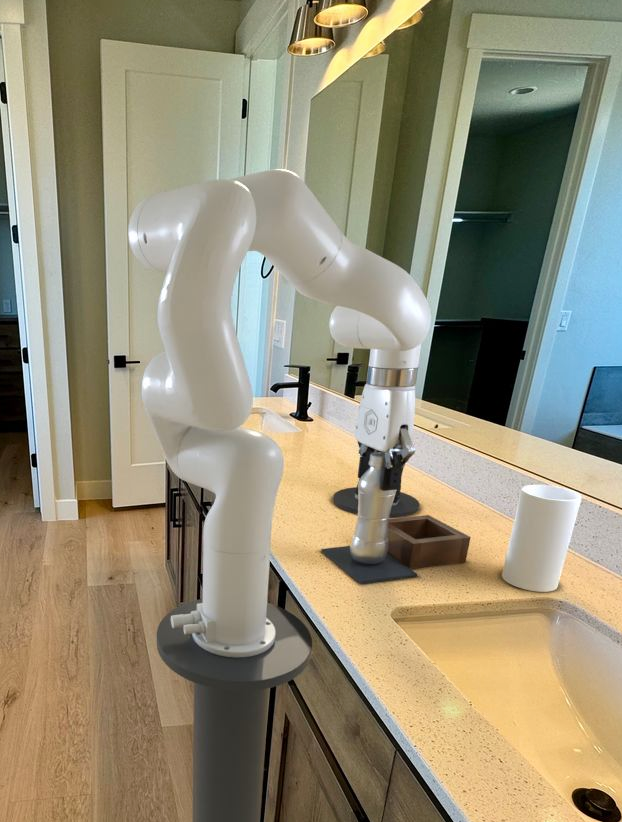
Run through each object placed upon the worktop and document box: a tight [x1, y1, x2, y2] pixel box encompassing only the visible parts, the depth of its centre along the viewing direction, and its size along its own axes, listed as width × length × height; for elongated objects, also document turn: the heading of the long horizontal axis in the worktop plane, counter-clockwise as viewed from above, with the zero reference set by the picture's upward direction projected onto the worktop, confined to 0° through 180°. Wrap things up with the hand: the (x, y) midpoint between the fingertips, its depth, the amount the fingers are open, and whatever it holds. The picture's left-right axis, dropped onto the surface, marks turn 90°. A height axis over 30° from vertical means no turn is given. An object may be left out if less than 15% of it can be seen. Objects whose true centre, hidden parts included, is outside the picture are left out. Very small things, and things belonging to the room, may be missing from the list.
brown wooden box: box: [387, 514, 472, 570], centre depth 109 cm, size 12×12×5 cm
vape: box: [332, 447, 420, 519], centre depth 131 cm, size 19×19×25 cm
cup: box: [501, 484, 583, 593], centre depth 95 cm, size 8×8×16 cm
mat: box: [321, 545, 418, 585], centre depth 105 cm, size 11×14×1 cm
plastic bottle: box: [349, 452, 397, 564], centre depth 101 cm, size 6×7×20 cm
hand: (377, 482), depth 100 cm, fingers closed on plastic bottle, 6 cm apart
